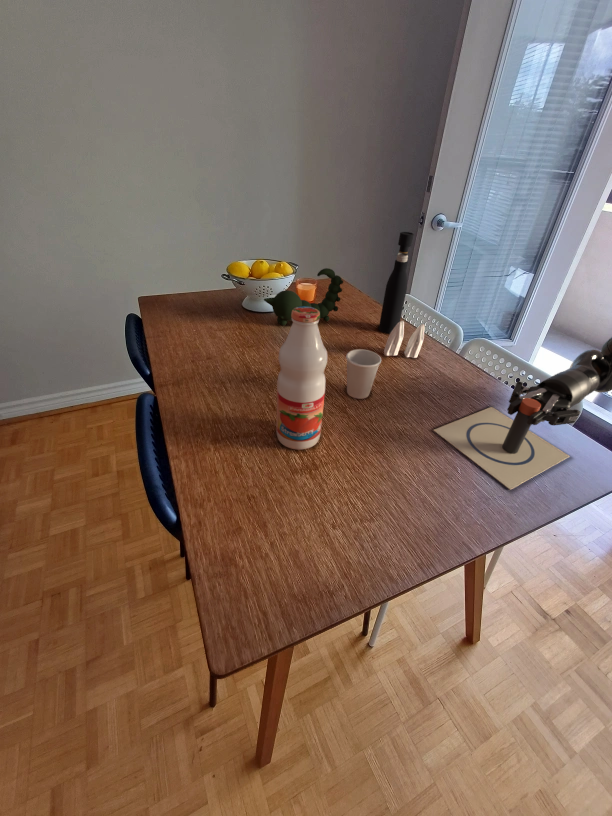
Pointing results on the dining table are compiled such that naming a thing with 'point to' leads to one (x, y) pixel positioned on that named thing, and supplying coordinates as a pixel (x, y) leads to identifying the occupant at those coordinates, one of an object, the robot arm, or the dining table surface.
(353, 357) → the dixie cup
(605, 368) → the robot arm
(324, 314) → the toy figurine
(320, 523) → the dining table surface
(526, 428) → the marker
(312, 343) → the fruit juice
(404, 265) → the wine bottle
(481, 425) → the paper
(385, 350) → the shaker set
